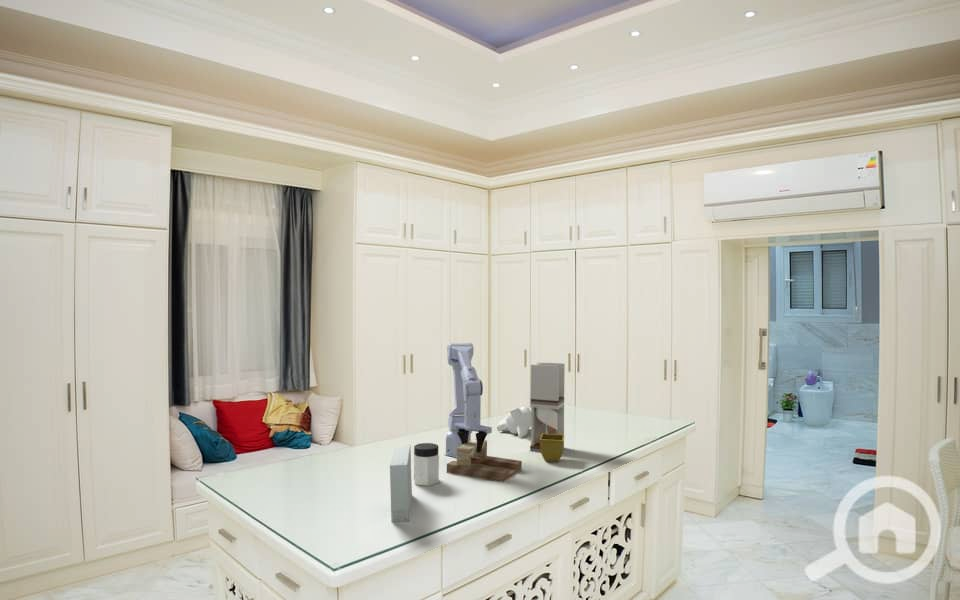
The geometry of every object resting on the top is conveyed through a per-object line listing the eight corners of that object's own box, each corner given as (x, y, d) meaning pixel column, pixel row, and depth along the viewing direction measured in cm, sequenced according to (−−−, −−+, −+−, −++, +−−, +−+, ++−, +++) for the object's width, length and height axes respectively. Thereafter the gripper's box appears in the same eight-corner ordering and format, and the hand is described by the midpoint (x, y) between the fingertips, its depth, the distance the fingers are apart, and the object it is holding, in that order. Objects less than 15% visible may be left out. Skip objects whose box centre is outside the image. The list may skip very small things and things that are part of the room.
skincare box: (394, 495, 172) (394, 444, 172) (412, 495, 173) (412, 444, 173) (389, 522, 151) (389, 464, 151) (409, 522, 152) (409, 464, 152)
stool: (469, 466, 192) (469, 449, 192) (456, 464, 195) (456, 447, 195) (486, 456, 205) (487, 440, 205) (474, 454, 207) (475, 438, 207)
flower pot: (563, 464, 206) (563, 440, 206) (539, 462, 208) (539, 438, 208) (564, 457, 215) (564, 434, 215) (541, 456, 217) (541, 433, 217)
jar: (408, 484, 183) (408, 447, 183) (418, 476, 190) (418, 441, 190) (433, 487, 180) (434, 450, 180) (442, 479, 188) (443, 444, 188)
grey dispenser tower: (530, 451, 224) (530, 364, 224) (537, 444, 234) (538, 362, 234) (557, 454, 220) (558, 366, 220) (563, 447, 230) (564, 363, 230)
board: (446, 472, 195) (446, 463, 195) (467, 460, 210) (467, 452, 210) (503, 481, 186) (503, 473, 186) (521, 469, 200) (521, 460, 200)
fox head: (495, 411, 267) (489, 417, 247) (527, 400, 265) (523, 405, 245) (504, 438, 265) (499, 446, 246) (537, 427, 263) (534, 434, 243)
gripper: (449, 413, 200) (449, 451, 200) (485, 417, 193) (485, 456, 193) (459, 410, 206) (458, 446, 206) (494, 413, 199) (494, 451, 199)
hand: (472, 451), depth 200 cm, fingers closed on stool, 5 cm apart
